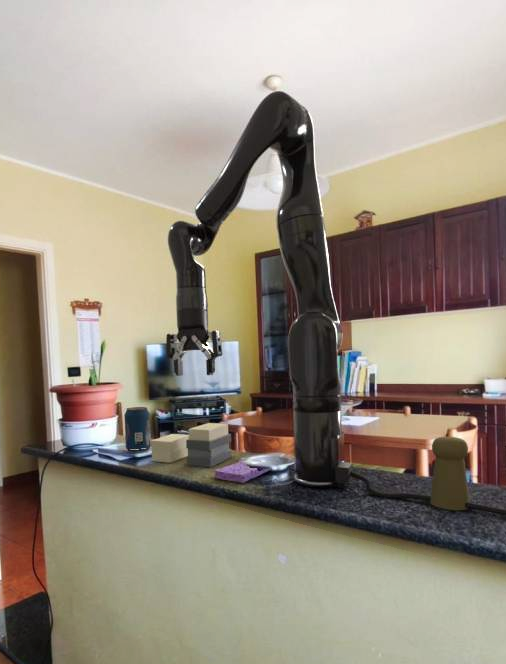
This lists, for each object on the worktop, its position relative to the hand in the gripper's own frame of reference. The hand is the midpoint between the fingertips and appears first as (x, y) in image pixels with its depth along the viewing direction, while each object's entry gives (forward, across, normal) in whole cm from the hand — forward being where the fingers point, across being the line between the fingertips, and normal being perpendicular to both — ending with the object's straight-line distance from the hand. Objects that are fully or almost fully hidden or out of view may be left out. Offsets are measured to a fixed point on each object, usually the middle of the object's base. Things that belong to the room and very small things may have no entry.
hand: (194, 375), depth 104 cm
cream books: (+21, -8, +2) cm, 23 cm away
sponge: (+22, +15, -7) cm, 27 cm away
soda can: (+21, -22, +6) cm, 31 cm away
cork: (+22, +54, -13) cm, 60 cm away
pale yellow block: (+15, +3, +1) cm, 15 cm away
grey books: (+21, +3, +1) cm, 21 cm away
